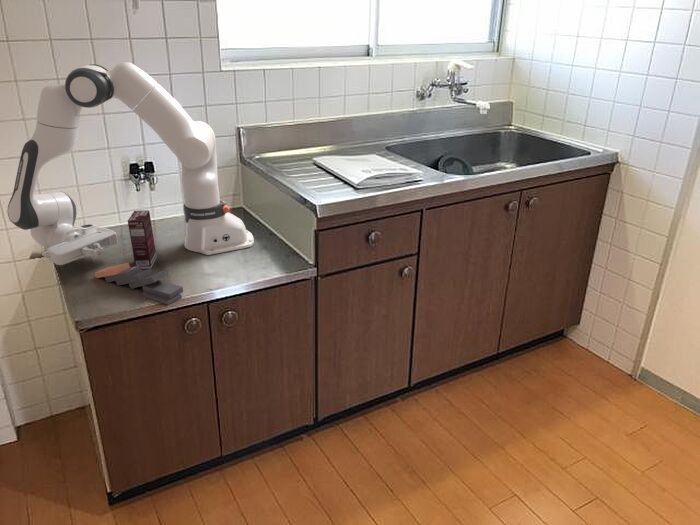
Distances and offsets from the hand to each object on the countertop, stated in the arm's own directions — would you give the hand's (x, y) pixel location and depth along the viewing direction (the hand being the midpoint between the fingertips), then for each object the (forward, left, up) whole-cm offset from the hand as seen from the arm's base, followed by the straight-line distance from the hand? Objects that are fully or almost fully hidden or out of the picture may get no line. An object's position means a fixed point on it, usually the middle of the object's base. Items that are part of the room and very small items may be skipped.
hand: (100, 252), depth 173 cm
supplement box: (-12, -4, -7) cm, 15 cm away
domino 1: (0, 0, -6) cm, 6 cm away
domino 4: (-9, +10, -6) cm, 15 cm away
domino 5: (-13, +14, -6) cm, 20 cm away
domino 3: (-6, +7, -6) cm, 11 cm away
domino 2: (-3, +4, -6) cm, 8 cm away
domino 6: (-13, +15, -7) cm, 21 cm away
